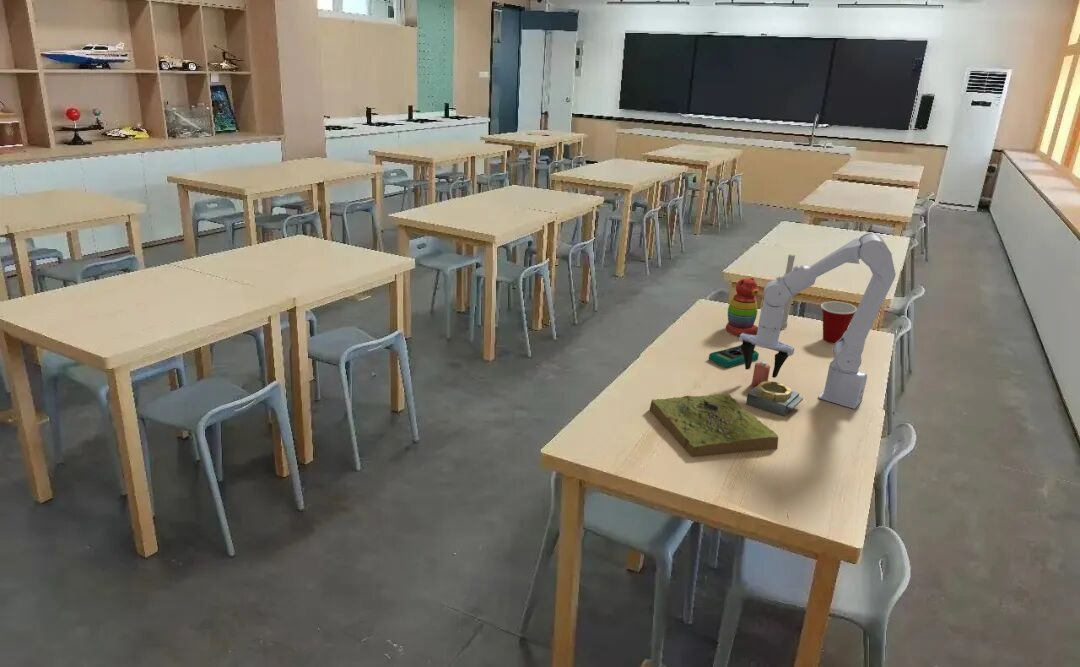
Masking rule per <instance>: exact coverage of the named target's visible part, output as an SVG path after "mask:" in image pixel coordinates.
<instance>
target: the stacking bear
mask: <svg viewBox="0 0 1080 667" xmlns="http://www.w3.org/2000/svg"><path fill="white" fill-rule="evenodd" d="M759 290H760V289H759V286H758V284H757V282H756V280H755V279H754V278H753V277H749V278H741V279H739V280H738V281H737V283H736V285H735V291H736V294H733V295H734V296H733V297H732V298H731V299H730V303H729V305H728V308H727V323H726V325H725V329H726V331H727V332H728V333H730V334H731V335H733V336H736V337H739V336H740V335H741V334H742V333H744V334H748V335H757V330H758V326H757V325H755V322H756V320H757V317H758V316H757V315H758V302H757V298H756V296H757V295H758V293H759Z"/></svg>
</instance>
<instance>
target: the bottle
mask: <svg viewBox="0 0 1080 667" xmlns="http://www.w3.org/2000/svg"><path fill="white" fill-rule="evenodd" d="M795 259H796V254H794V253H789V254H788V257H787V263H786V267H785V273H784V274H783V275H782V276H781V277H783V276H784V275H786V274H788V273H790V272H791V271H793V267H794V263H795ZM792 299H793V296H792V297H788V299H787V301H786V303H785V304H784V307H783V311H784V313H783V318H782V323H781V328H785V329H787V327H788V324H789V322H788V318H789V314H790V309H791V304H792Z"/></svg>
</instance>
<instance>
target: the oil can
mask: <svg viewBox="0 0 1080 667" xmlns="http://www.w3.org/2000/svg"><path fill="white" fill-rule="evenodd" d="M770 371H771V365H770V364H768V363H767V362H765V361H759V362H755V363H754V369H753V372H752V373H753V375H752V379H751V380H752V381H751V386H752V387H753V388H755V387H757V386H758V385H759V384H760V383H761V382H769V376H770Z"/></svg>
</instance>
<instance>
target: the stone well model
mask: <svg viewBox="0 0 1080 667" xmlns="http://www.w3.org/2000/svg"><path fill="white" fill-rule="evenodd" d="M803 400H804V397H802V396H800V392H797V391H793V390H792V388H790V387H789V386H788V385H786V384H783V383H781V382H776V381H768V382H761V383H760V384H759V385H758V386H757V387H753V389H751V390H750V391H749V392H747V394H746V401H745V404H746V406H747V405H748V406H750V407H753V408H757V409H761V410H763V411H766V412H769V413H771V414H772V413H773V414H775V415H778V416H782V417H785V416H786V415H787V414H788V413H789V412H790V411H793V409H795V407H797V406H798V405H799V404H800V403H801V402H802V401H803Z"/></svg>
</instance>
